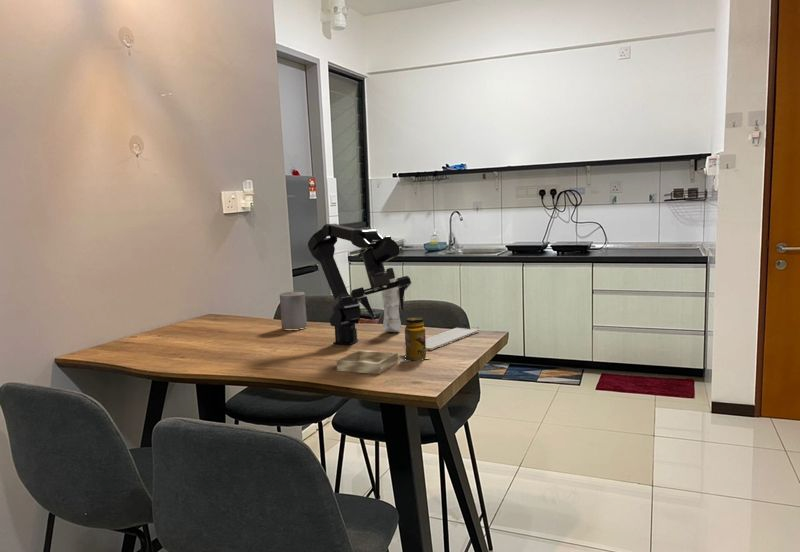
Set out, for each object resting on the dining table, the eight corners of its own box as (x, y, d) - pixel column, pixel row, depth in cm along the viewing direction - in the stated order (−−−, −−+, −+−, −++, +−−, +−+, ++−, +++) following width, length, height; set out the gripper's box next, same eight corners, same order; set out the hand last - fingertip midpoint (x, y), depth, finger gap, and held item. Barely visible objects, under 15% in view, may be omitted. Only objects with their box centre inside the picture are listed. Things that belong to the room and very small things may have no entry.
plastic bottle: (404, 331, 216) (402, 276, 214) (394, 334, 210) (392, 279, 208) (390, 329, 219) (387, 276, 217) (379, 333, 214) (377, 278, 211)
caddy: (337, 370, 165) (336, 360, 165) (358, 359, 177) (357, 350, 177) (379, 374, 160) (379, 363, 160) (398, 362, 172) (397, 352, 172)
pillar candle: (286, 326, 235) (283, 288, 233) (310, 325, 234) (307, 288, 232) (278, 331, 226) (275, 292, 224) (302, 331, 224) (300, 291, 222)
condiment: (430, 359, 174) (428, 319, 172) (401, 362, 172) (400, 321, 171) (423, 354, 181) (422, 315, 179) (396, 356, 179) (394, 317, 178)
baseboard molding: (399, 349, 191) (431, 353, 184) (399, 340, 191) (430, 344, 184) (449, 331, 216) (479, 334, 209) (449, 323, 216) (478, 325, 209)
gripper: (346, 269, 176) (360, 319, 174) (406, 254, 179) (420, 303, 177) (345, 276, 187) (358, 324, 185) (401, 262, 190) (415, 308, 188)
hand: (388, 315), depth 183 cm, fingers open, 9 cm apart
